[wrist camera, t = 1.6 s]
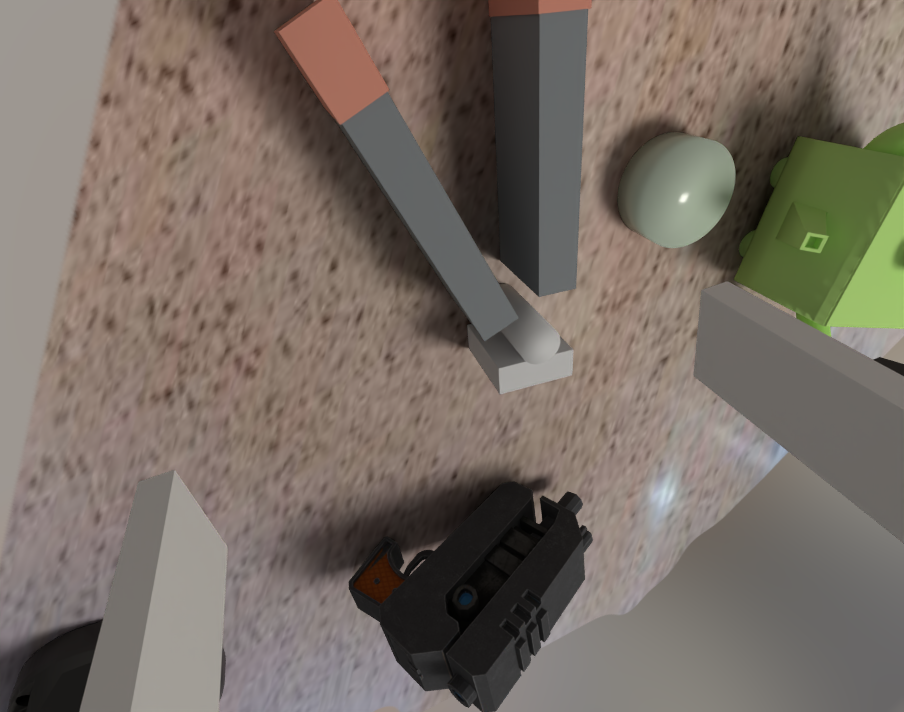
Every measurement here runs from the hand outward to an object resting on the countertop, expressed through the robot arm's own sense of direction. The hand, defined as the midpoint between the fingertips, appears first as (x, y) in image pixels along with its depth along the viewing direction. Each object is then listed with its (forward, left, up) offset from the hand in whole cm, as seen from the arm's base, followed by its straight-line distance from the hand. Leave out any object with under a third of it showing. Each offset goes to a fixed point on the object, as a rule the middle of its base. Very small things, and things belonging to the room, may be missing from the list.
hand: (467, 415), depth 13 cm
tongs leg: (+3, +1, -22) cm, 22 cm away
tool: (+5, -30, -22) cm, 38 cm away
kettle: (+35, -7, -22) cm, 42 cm away
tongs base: (+9, 0, -22) cm, 24 cm away
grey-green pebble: (+22, -3, -22) cm, 31 cm away
